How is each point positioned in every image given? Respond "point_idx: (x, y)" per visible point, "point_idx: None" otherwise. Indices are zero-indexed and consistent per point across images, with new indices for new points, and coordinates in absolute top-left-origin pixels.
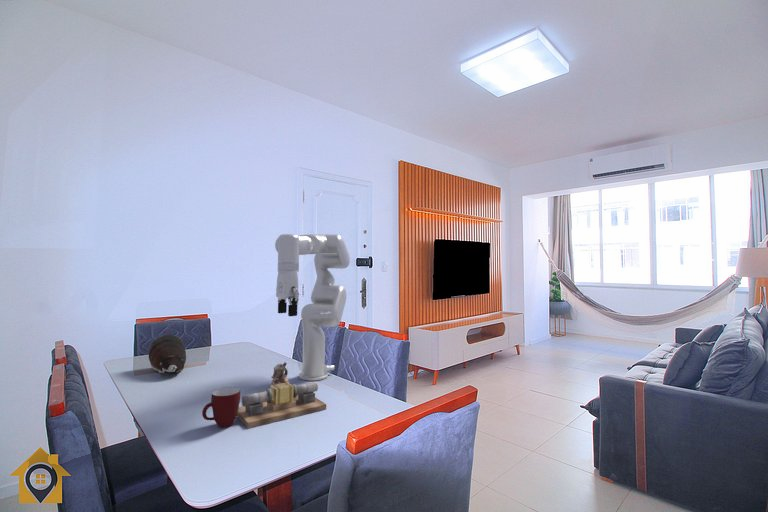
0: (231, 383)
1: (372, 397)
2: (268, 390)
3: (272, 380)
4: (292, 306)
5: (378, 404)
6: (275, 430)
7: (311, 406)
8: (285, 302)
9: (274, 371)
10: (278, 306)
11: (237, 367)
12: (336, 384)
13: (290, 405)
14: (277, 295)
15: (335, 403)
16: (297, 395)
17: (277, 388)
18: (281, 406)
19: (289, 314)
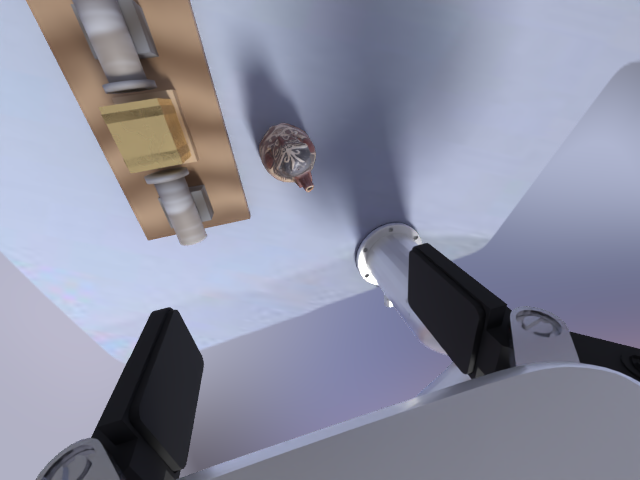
0: (457, 36)
1: (201, 330)
2: (117, 82)
3: (300, 135)
4: (97, 438)
5: None
6: (7, 79)
7: (139, 204)
8: (475, 372)
9: (290, 142)
10: (457, 279)
11: (579, 87)
12: (312, 286)
13: None
14: (551, 415)
15: (186, 260)
16: (238, 189)
17: (109, 114)
18: None
19: (150, 325)
